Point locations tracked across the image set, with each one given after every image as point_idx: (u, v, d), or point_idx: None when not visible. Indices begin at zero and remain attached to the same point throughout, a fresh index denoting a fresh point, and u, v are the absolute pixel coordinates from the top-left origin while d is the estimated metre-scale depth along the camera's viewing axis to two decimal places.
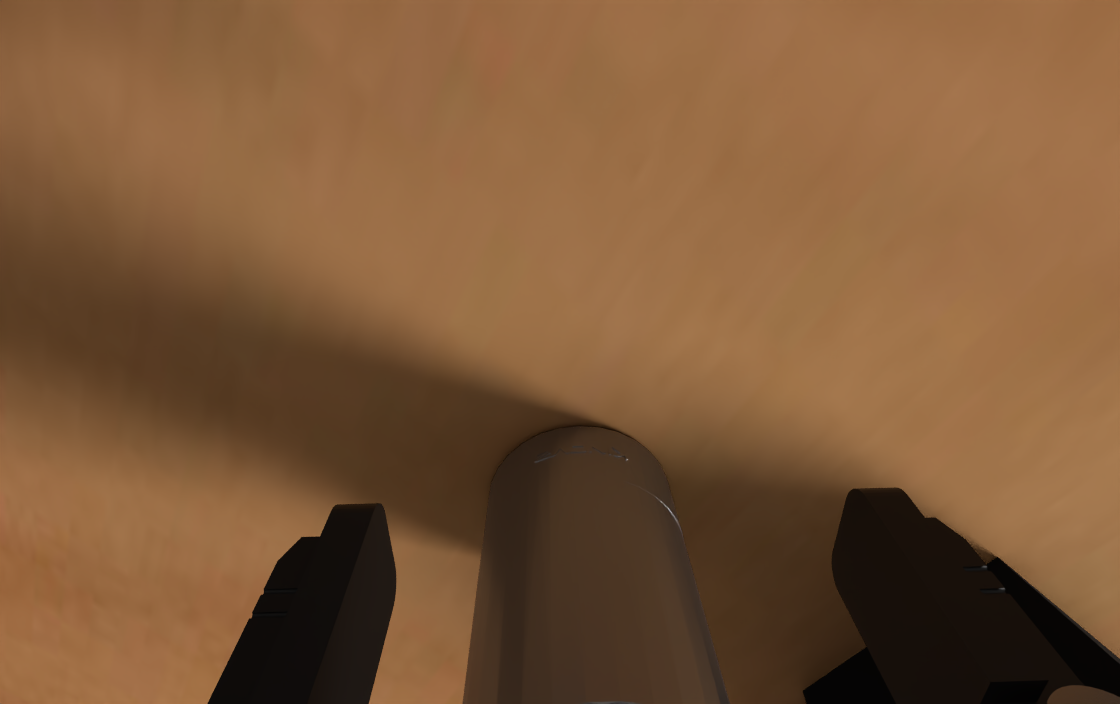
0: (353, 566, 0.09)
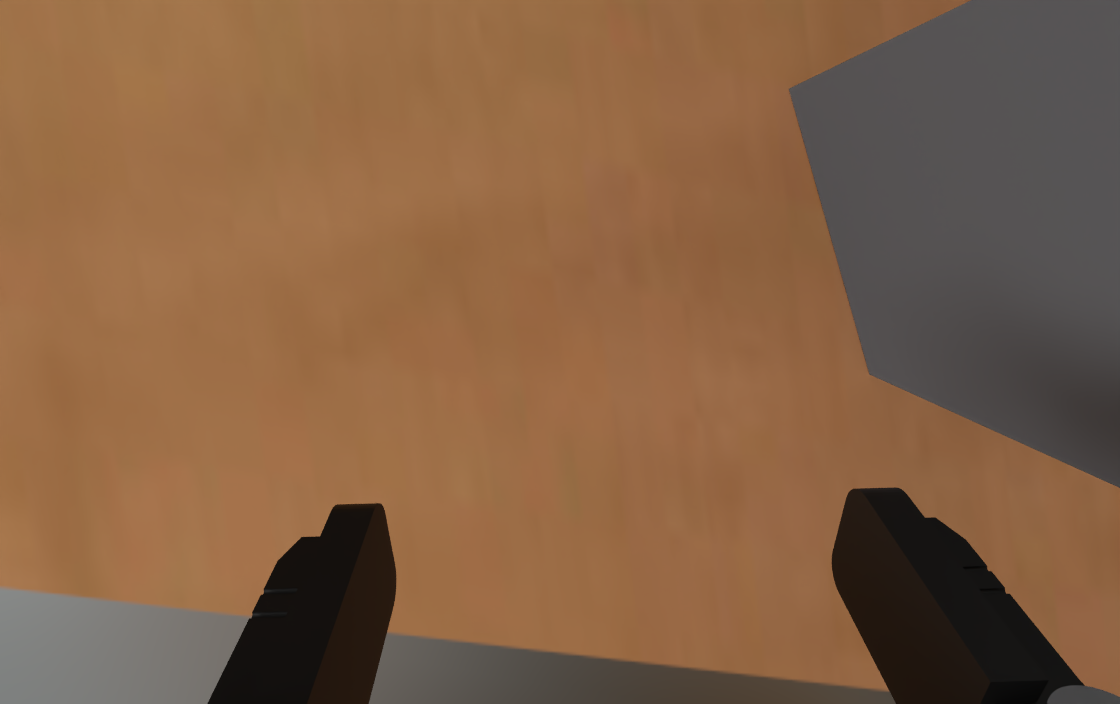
0: (353, 566, 0.09)
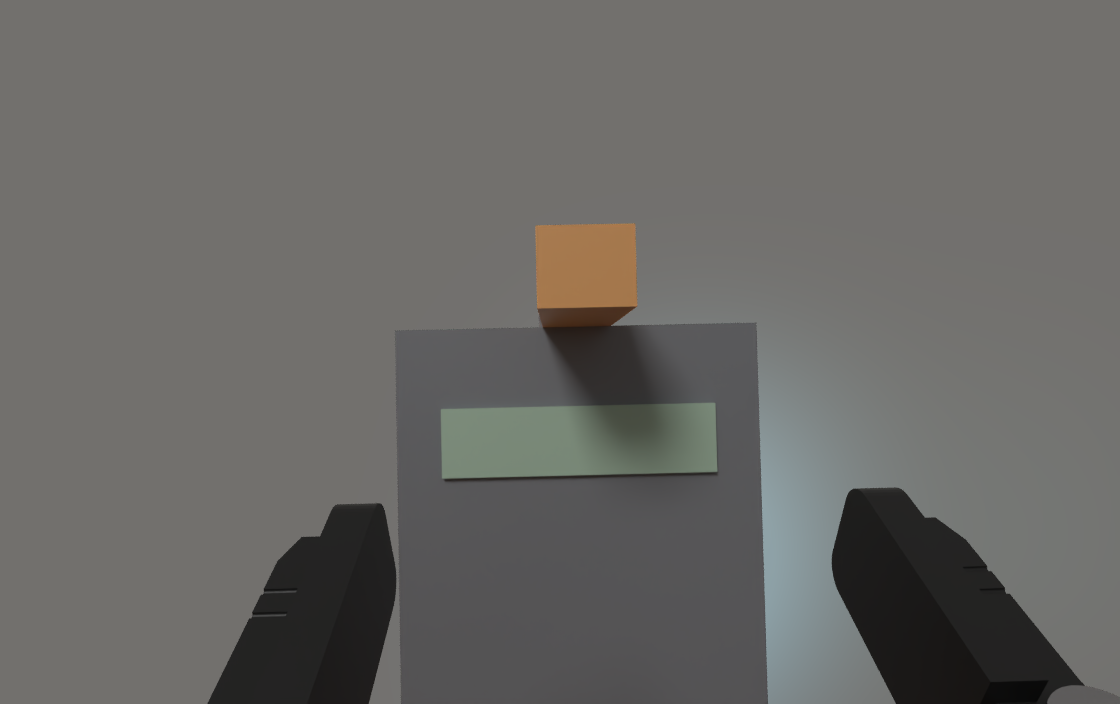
0: (353, 566, 0.09)
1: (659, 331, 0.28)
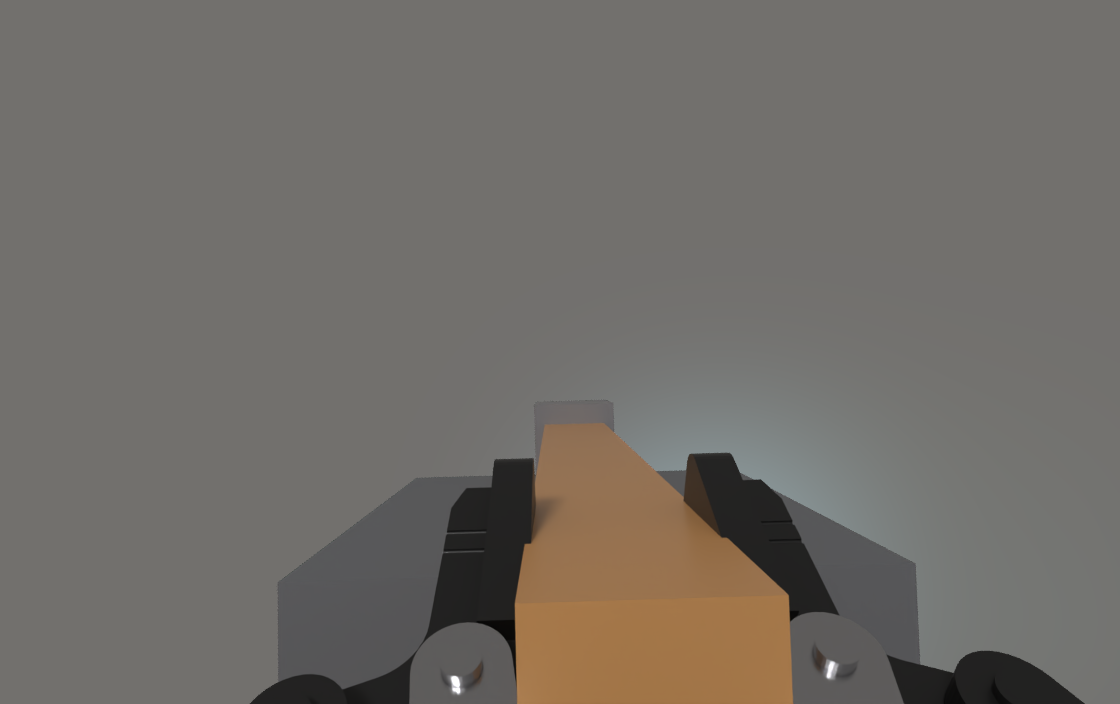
0: (530, 509, 0.10)
1: None
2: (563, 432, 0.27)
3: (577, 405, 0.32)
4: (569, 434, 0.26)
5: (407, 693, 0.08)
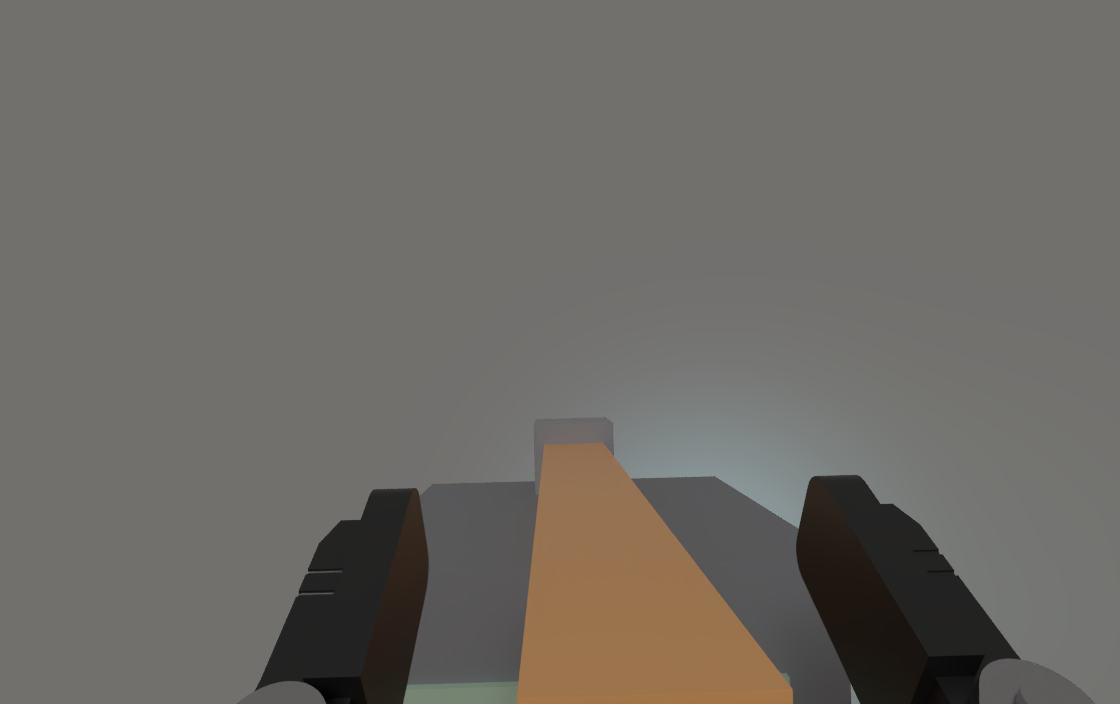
0: (395, 547, 0.09)
1: (709, 570, 0.20)
2: (563, 455, 0.27)
3: (577, 425, 0.32)
4: (569, 458, 0.26)
5: None
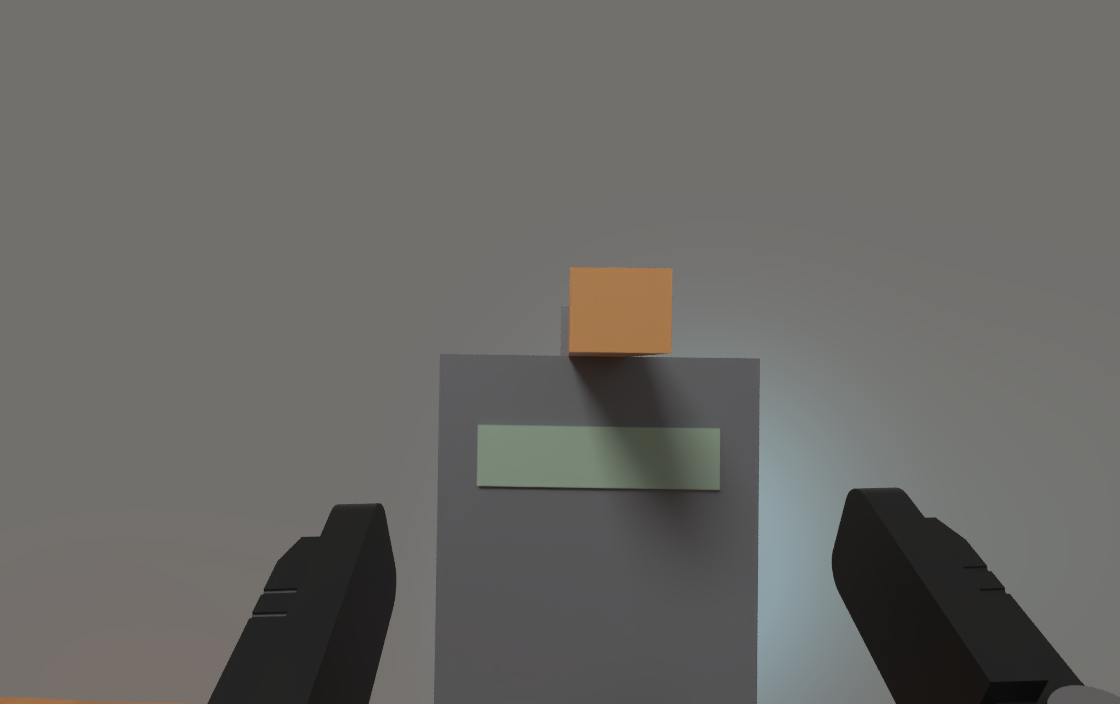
0: (353, 566, 0.09)
1: (673, 363, 0.31)
2: None
3: None
4: None
5: None
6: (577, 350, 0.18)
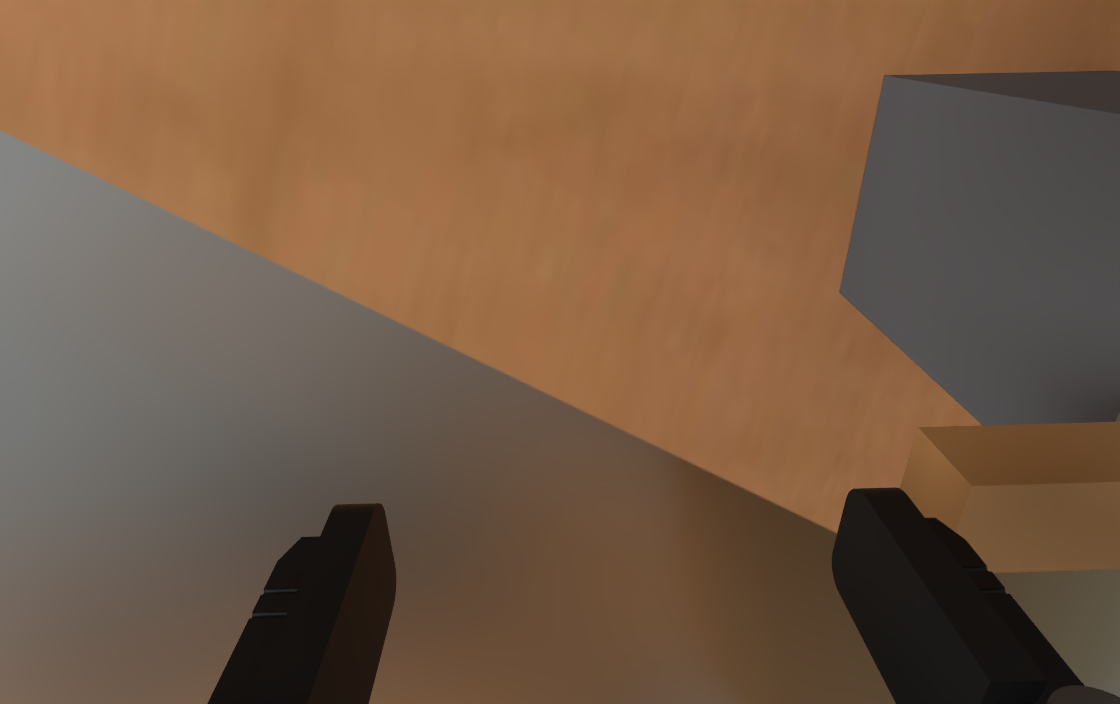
0: (353, 566, 0.09)
1: None
2: None
3: None
4: None
5: None
6: None
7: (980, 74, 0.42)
